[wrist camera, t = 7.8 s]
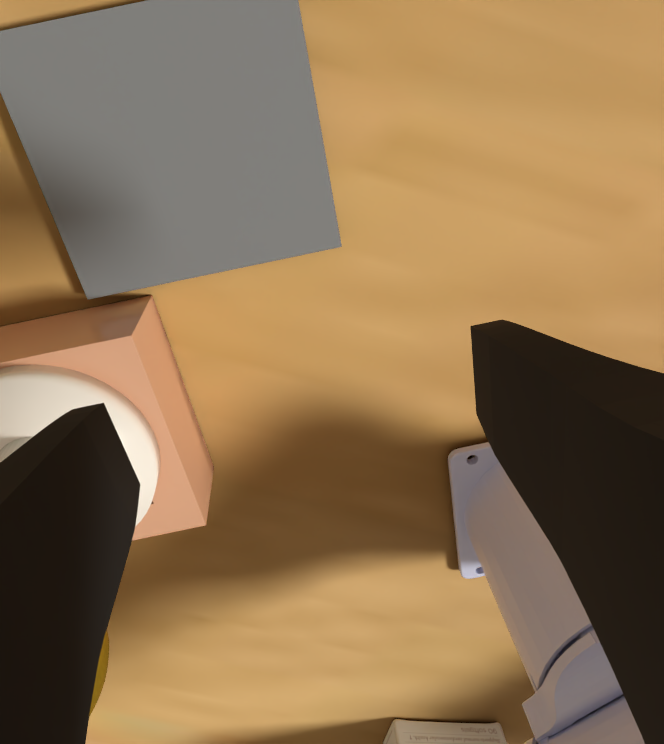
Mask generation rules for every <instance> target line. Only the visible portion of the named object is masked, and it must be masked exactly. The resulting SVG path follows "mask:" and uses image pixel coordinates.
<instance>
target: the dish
mask: <svg viewBox="0 0 664 744" xmlns="http://www.w3.org/2000/svg"><path fill="white" fill-rule="evenodd" d="M30 364H34V365H50V366H57V367H63V368H67V369H71V370H75V371H79V372H81V373H84V374H87V375H90V376H92V377H94V378H96V379H98V380H100V381H103V382H105V383H107V384H108V385H110V386H111V387H113V388H114V389H116V390H118V391H119V392H120V393H122V394H123V395H124V396H125V397H127V398H128V399H129V400H130V401H131V402H132V403H133V404H134V405H135V406H136V407H137V408H138V409H139V410H140V411H141V413H142V414H143V415H144V417H145V418H146V419H147V421H148V422H149V424H150V426H151V428H152V429H153V431H154V434H155V436H156V439H157V441H158V445H159V450H160V460H161V465H160V474H159V478H158V482H157V485H156V489H155V493H154V496H153V500H152V503H151V505H150V507H149V509H148V511H147V513H146V514H145V516H144V517H143V519H142V520H141V521H140V522H139V523H138V524H137V525H136V526H135V530H134V534H133V538H132V541H133V540H138V539H142V538H147V537H152V536H157V535H162V534H166V533H171V532H176V531H181V530H186V529H190V528H195V527H200V526H205V525H206V523H207V516H208V508H209V501H210V493H211V486H212V478H213V471H214V466H213V463H212V460H211V458H210V455H209V452H208V449H207V446H206V444H205V441H204V438H203V435H202V433H201V430H200V427H199V424H198V421H197V419H196V416H195V413H194V410H193V408H192V405H191V402H190V399H189V396H188V394H187V391H186V388H185V385H184V383H183V380H182V377H181V374H180V371H179V369H178V366H177V363H176V360H175V358H174V355H173V352H172V349H171V346H170V344H169V341H168V338H167V335H166V332H165V330H164V327H163V324H162V321H161V319H160V316H159V313H158V310H157V307H156V305H155V302H154V299H153V296H152V295H150V296H145V297H140V298H135V299H131V300H126V301H121V302H116V303H111V304H107V305H102V306H97V307H92V308H87V309H83V310H78V311H73V312H68V313H63V314H59V315H54V316H49V317H44V318H40V319H35V320H30V321H25V322H20V323H16V324H11V325H6V326H1V327H0V369H1V368H5V367H11V366H16V365H30Z"/></svg>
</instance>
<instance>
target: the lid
mask: <svg viewBox="0 0 664 744" xmlns="http://www.w3.org/2000/svg"><path fill="white" fill-rule="evenodd" d="M100 403H104V404H105V406H106V409H107V411H108V413H109V415H110V418H111V420H112V422H113V424H114V427H115V429H116V431H117V433H118V435H119V438H120V440H121V442H122V444H123V447H124V449H125V451H126V453H127V455H128V458H129V460H130V462H131V464H132V467H133V469H134V471H135V473H136V475H137V478H138V480H139V482H140V493H139V502H138V511H137V518H136V525H137V524H138V523H139V522H140V521H141V520H142V519H143V517H144V516H145V514H146V513H147V511H148V509H149V507H150V505H151V503H152V500H153V496H154V493H155V489H156V485H157V482H158V478H159V474H160V465H161V460H160V450H159V445H158V441H157V439H156V436H155V434H154V431H153V429H152V428H151V426H150V424H149V422H148V421H147V419H146V418H145V417H144V415H143V414H142V413H141V411H140V410H139V409H138V408H137V407H136V406H135V405H134V404H133V403H132V402H131V401H130V400H129V399H128V398H127V397H125V396H124V395H123V394H122V393H120V392H119V391H118V390H116V389H114V388H113V387H111V386H110V385H108V384H107V383H105V382H103V381H100V380H98V379H96V378H94V377H92V376H90V375H87V374H84V373H81V372H79V371H75V370H71V369H67V368H63V367H57V366H50V365H34V364H30V365H16V366H11V367H5V368H1V369H0V462H2V461H3V460H4V459H5V458H7V457H8V456H9V455H10V454H12V453H13V452H14V451H16V450H17V449H18V448H19V447H21V446H22V445H23V444H24V443H26V442H27V441H28V440H30V439H31V438H32V437H33V436H35V435H36V434H37V433H39V432H40V431H41V430H43V429H44V428H45V427H47V426H48V425H49V424H51V423H52V422H53V421H55V420H56V419H58V418H59V417H61V416H62V415H64V414H65V413H67V412H69V411H70V410H72V409H76V408H80V407H85V406H90V405H95V404H100ZM136 525H135V526H136Z"/></svg>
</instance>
